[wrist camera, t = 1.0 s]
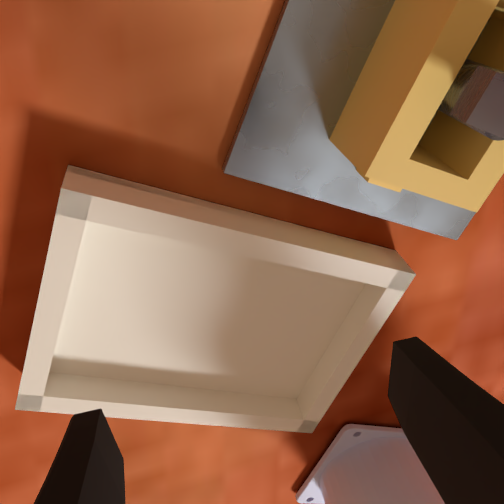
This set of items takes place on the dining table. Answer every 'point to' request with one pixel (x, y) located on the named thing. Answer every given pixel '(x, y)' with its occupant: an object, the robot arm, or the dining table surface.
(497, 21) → the yellow hollow rectangular block
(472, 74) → the grey peg base
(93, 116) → the dining table surface
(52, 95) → the dining table surface
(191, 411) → the tray
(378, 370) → the dining table surface
